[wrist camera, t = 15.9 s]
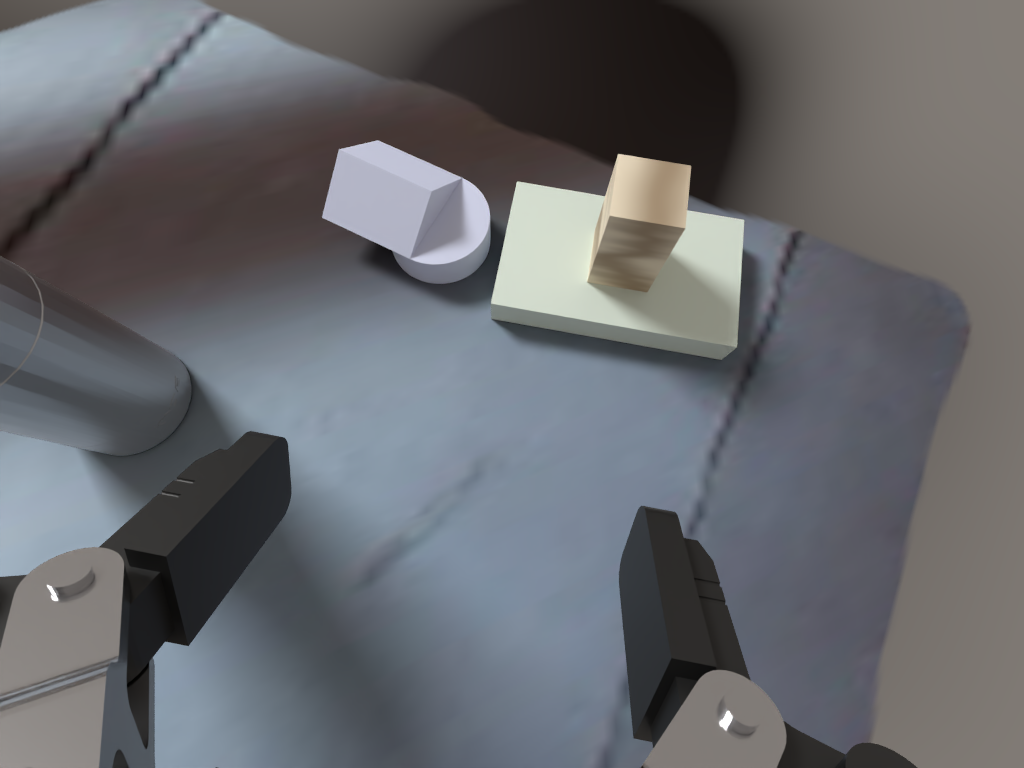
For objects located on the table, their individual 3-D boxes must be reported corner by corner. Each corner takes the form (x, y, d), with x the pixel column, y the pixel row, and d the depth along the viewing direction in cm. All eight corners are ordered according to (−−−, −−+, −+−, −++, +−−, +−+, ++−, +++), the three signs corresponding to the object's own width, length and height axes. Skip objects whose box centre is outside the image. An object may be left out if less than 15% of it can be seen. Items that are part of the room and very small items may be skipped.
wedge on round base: (334, 239, 46) (460, 300, 45) (307, 191, 40) (454, 259, 38) (386, 166, 48) (507, 221, 47) (368, 109, 42) (508, 171, 41)
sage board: (491, 318, 44) (490, 303, 41) (516, 203, 47) (517, 181, 45) (721, 359, 43) (737, 347, 40) (729, 239, 47) (744, 220, 44)
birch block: (587, 282, 42) (609, 215, 33) (594, 230, 43) (618, 154, 35) (647, 292, 42) (685, 228, 33) (652, 240, 43) (691, 165, 35)
